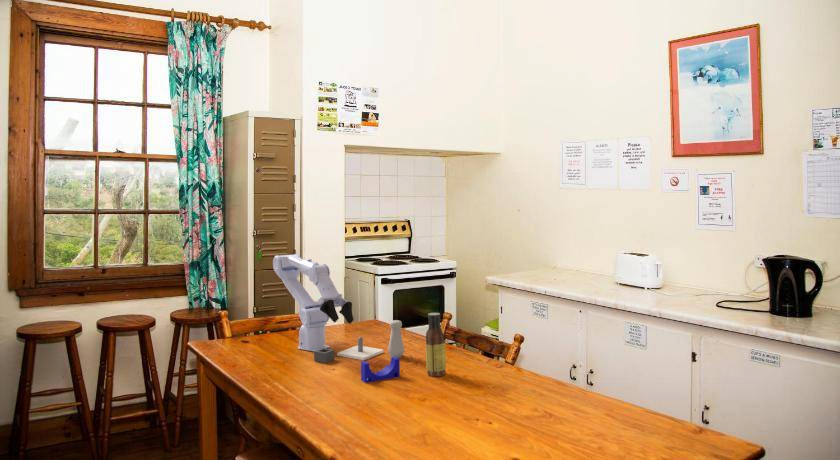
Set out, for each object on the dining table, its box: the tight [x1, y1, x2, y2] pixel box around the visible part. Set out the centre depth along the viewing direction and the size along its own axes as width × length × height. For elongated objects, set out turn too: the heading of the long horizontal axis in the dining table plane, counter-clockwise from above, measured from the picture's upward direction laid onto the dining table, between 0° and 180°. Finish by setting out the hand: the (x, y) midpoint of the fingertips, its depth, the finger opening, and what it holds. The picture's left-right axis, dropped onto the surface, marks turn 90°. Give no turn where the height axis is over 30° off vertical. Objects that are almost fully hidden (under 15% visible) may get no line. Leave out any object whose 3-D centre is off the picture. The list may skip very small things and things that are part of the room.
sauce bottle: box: [425, 312, 447, 377], centre depth 184 cm, size 7×6×20 cm
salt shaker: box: [387, 319, 405, 359], centre depth 204 cm, size 6×6×13 cm
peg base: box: [336, 336, 384, 362], centre depth 208 cm, size 12×12×6 cm
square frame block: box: [313, 348, 336, 364], centre depth 200 cm, size 5×5×4 cm
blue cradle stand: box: [360, 356, 401, 384], centre depth 181 cm, size 12×4×6 cm, turn 118°
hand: (344, 321), depth 199 cm, fingers open, 7 cm apart
